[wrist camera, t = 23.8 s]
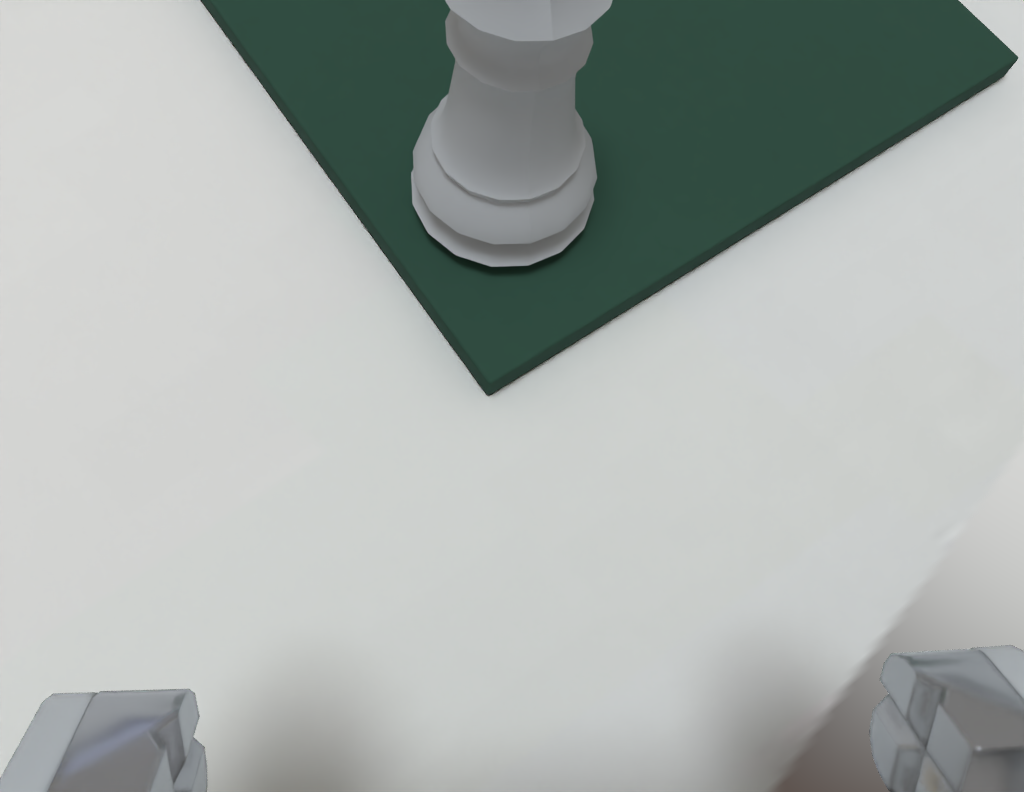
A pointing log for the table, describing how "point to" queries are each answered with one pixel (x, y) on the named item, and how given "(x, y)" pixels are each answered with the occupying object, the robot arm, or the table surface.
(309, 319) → the table surface
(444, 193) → the rook chess piece
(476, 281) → the mat
